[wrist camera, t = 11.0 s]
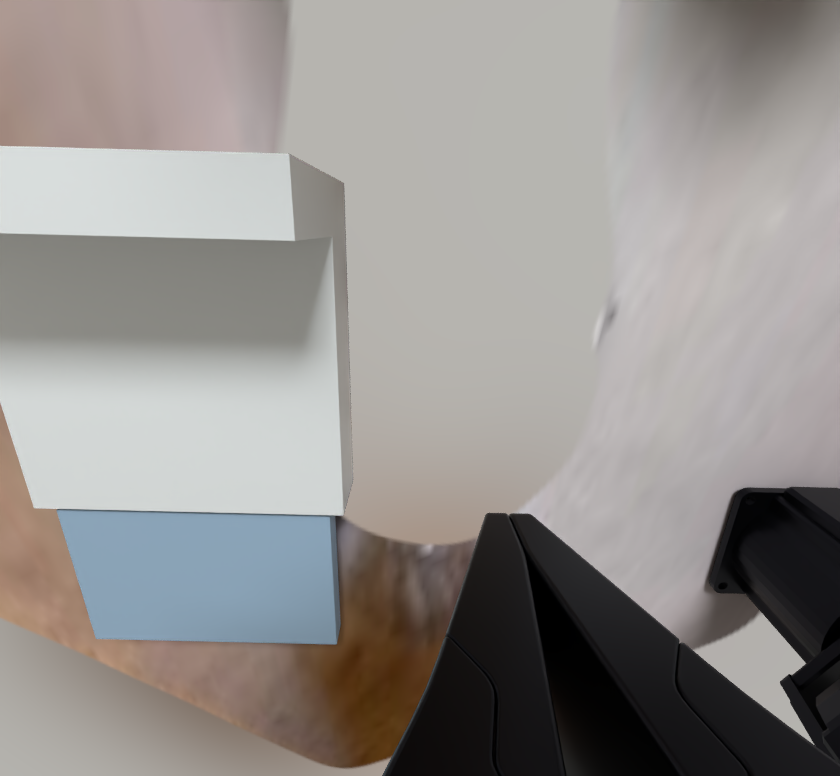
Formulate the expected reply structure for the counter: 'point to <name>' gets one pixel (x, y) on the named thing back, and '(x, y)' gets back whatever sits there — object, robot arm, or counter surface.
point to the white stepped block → (175, 330)
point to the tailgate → (206, 575)
